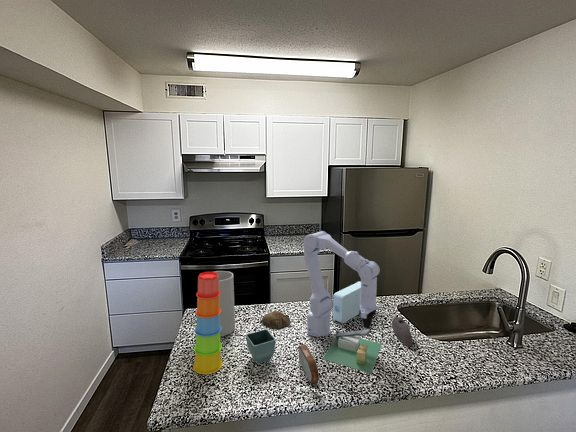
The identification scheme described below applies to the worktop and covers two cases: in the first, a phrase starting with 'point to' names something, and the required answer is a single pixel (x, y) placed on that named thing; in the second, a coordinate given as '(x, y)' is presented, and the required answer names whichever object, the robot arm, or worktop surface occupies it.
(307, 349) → the tin
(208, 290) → the stacking cups
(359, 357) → the block
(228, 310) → the cylinder vase
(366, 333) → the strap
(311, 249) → the robot arm
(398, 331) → the perforated stone tool
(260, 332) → the flower pot
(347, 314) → the light blue box
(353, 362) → the green board with slider
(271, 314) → the bread roll
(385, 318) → the worktop surface
